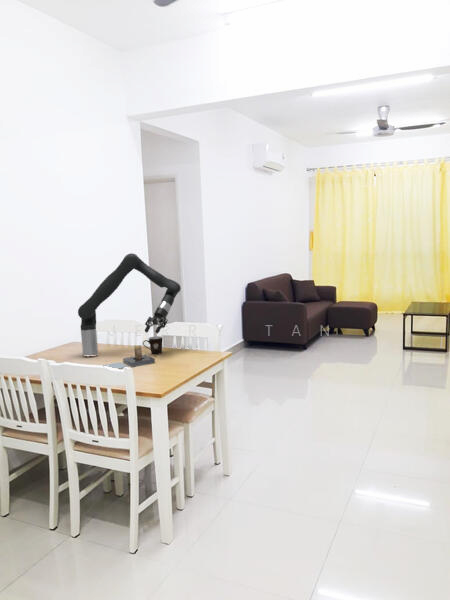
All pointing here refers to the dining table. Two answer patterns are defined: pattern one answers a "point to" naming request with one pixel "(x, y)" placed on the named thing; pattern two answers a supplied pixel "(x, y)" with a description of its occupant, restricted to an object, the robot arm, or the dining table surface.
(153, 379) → the dining table surface
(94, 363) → the dining table surface
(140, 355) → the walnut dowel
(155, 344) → the coffee mug
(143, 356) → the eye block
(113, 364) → the slate pad
